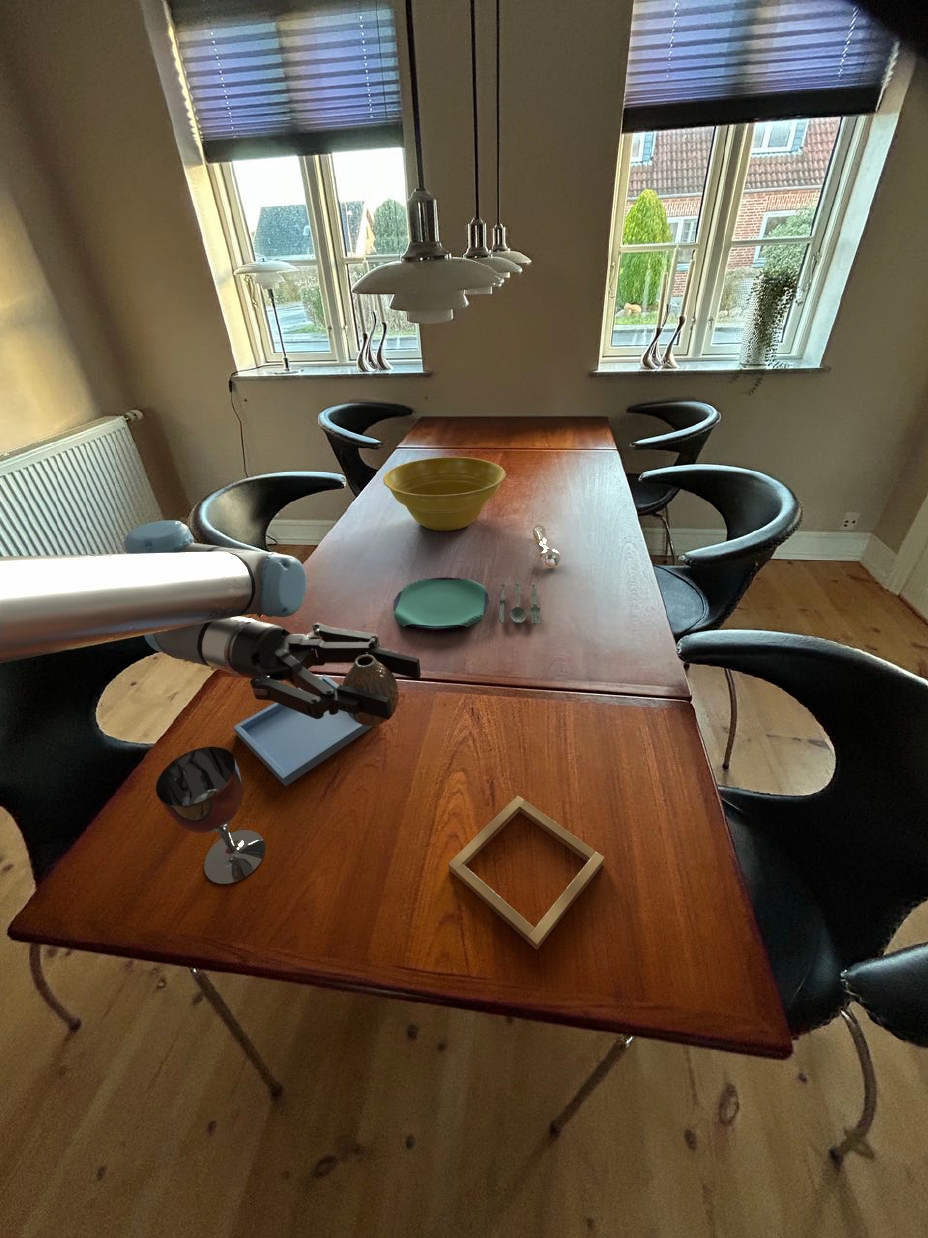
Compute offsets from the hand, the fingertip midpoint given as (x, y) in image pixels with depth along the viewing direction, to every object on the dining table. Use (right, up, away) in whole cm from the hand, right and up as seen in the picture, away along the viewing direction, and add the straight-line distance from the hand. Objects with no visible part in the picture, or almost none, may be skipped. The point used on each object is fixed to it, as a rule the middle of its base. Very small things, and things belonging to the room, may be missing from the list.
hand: (404, 688), depth 62 cm
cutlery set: (+7, +10, +47) cm, 49 cm away
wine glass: (-21, -21, +3) cm, 30 cm away
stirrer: (+27, +25, +69) cm, 78 cm away
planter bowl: (+2, +35, +85) cm, 92 cm away
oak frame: (+14, -21, 0) cm, 26 cm away
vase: (-4, -4, +5) cm, 8 cm away
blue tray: (-17, -9, +20) cm, 28 cm away
